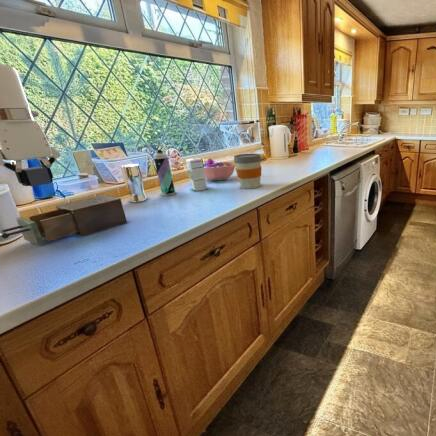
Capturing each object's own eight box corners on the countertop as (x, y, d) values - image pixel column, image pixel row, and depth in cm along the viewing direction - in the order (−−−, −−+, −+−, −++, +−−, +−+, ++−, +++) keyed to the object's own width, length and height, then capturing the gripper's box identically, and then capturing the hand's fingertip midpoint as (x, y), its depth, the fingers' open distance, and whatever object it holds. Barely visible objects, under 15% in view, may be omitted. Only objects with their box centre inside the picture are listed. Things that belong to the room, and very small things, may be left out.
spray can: (160, 194, 138) (150, 149, 131) (173, 191, 142) (163, 148, 135) (164, 196, 134) (154, 150, 128) (177, 193, 138) (167, 149, 131)
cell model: (226, 184, 153) (223, 161, 149) (192, 183, 157) (188, 161, 154) (243, 177, 168) (240, 156, 164) (211, 176, 173) (208, 156, 169)
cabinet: (81, 236, 92) (72, 210, 89) (64, 230, 98) (55, 205, 95) (127, 222, 103) (120, 198, 100) (109, 217, 109) (102, 194, 106)
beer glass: (125, 202, 127) (115, 166, 122) (138, 197, 134) (130, 163, 129) (139, 202, 126) (129, 167, 121) (151, 198, 132) (143, 164, 127)
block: (31, 186, 83) (25, 170, 82) (24, 185, 85) (18, 169, 84) (51, 183, 87) (46, 167, 85) (44, 181, 89) (38, 166, 87)
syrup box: (207, 188, 145) (202, 158, 140) (195, 191, 141) (189, 160, 136) (203, 187, 149) (197, 157, 144) (191, 189, 145) (185, 159, 140)
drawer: (11, 254, 80) (1, 230, 77) (-2, 247, 84) (-13, 224, 82) (89, 230, 94) (83, 210, 92) (74, 225, 99) (67, 205, 97)
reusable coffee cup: (255, 190, 139) (251, 157, 134) (232, 189, 143) (227, 157, 138) (268, 184, 151) (265, 153, 145) (246, 182, 154) (243, 153, 149)
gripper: (45, 115, 88) (65, 176, 95) (-39, 117, 74) (-9, 189, 81) (58, 114, 85) (78, 178, 91) (-27, 117, 71) (3, 192, 77)
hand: (37, 182), depth 86 cm, fingers closed on block, 4 cm apart
